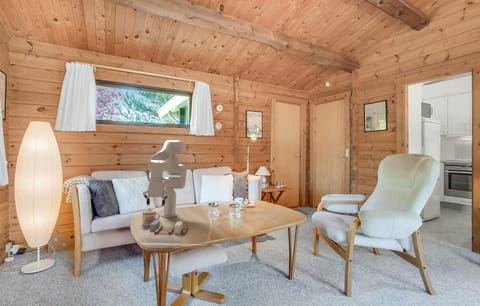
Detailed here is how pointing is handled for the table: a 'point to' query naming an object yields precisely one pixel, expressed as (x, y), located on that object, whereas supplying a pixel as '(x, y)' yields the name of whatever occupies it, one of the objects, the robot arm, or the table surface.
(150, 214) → the teacup with lid
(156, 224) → the blue stub
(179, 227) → the ivory stub
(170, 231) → the slot rack
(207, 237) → the table surface
